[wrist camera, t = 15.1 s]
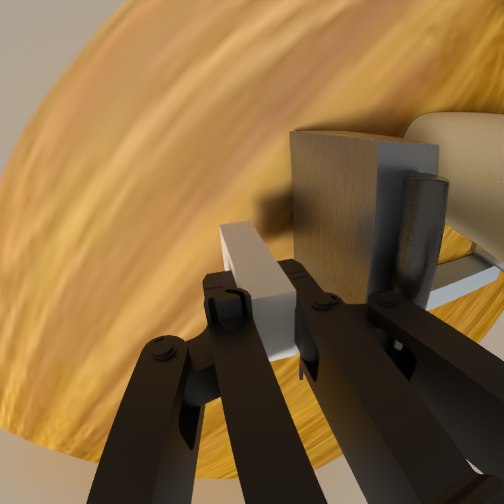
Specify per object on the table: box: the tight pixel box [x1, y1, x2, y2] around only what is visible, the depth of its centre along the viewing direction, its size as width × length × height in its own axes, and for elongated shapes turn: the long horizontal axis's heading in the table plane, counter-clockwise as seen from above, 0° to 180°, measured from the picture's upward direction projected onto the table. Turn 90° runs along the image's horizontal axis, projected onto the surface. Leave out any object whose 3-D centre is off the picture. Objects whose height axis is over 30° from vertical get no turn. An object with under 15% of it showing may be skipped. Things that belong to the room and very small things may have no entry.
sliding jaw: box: [289, 130, 450, 350], centre depth 13 cm, size 11×4×10 cm, turn 4°
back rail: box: [295, 254, 500, 354], centre depth 21 cm, size 2×24×3 cm, turn 94°
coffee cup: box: [403, 112, 504, 263], centre depth 13 cm, size 9×9×12 cm
